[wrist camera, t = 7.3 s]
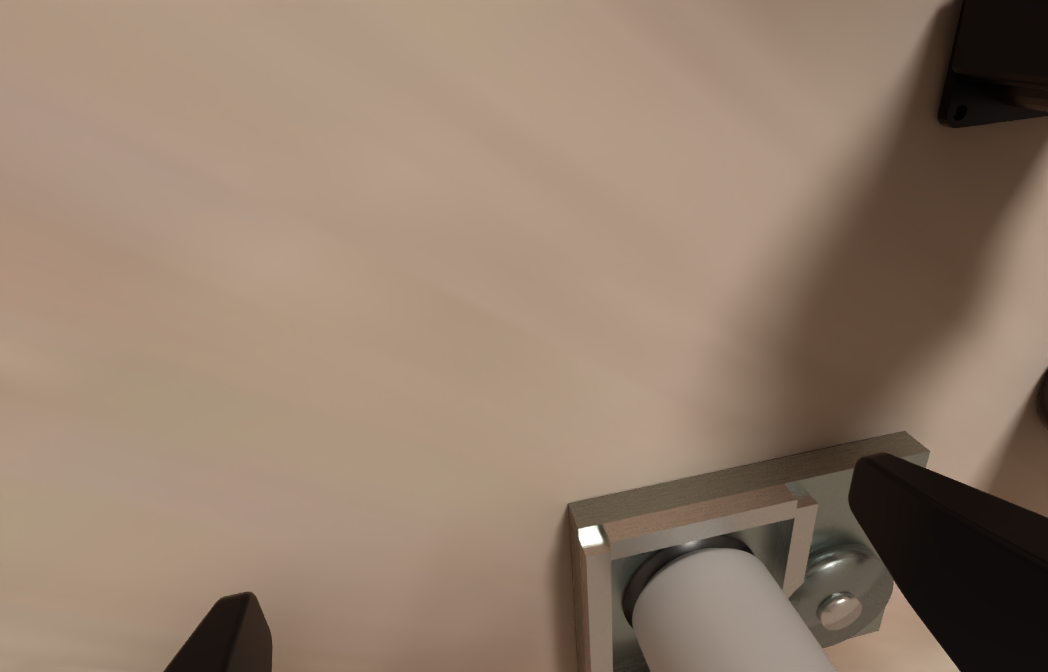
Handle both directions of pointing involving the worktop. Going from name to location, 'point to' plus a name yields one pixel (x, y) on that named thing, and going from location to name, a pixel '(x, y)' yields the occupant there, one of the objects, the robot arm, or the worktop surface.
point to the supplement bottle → (1044, 402)
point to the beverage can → (722, 618)
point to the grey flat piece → (734, 545)
